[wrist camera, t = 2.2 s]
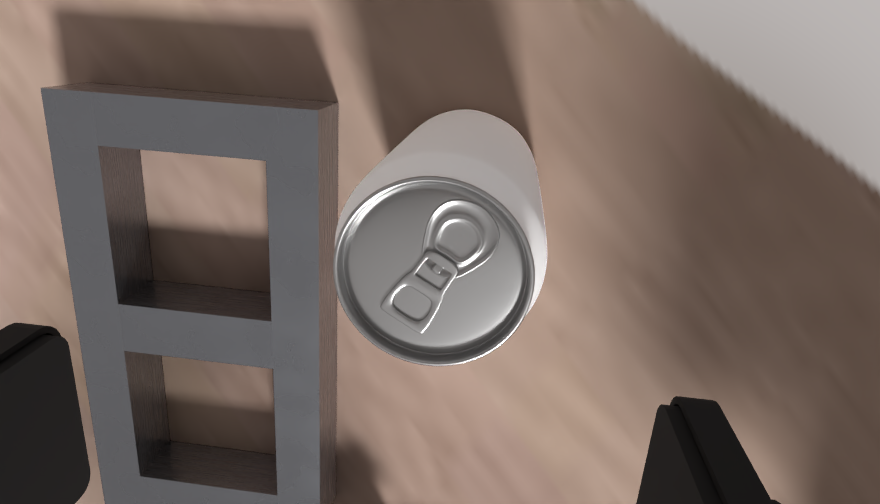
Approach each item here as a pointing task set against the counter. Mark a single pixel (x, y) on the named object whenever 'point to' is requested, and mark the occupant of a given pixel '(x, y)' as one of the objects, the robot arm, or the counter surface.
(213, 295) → the grey windowed frame
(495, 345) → the can
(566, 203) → the counter surface
